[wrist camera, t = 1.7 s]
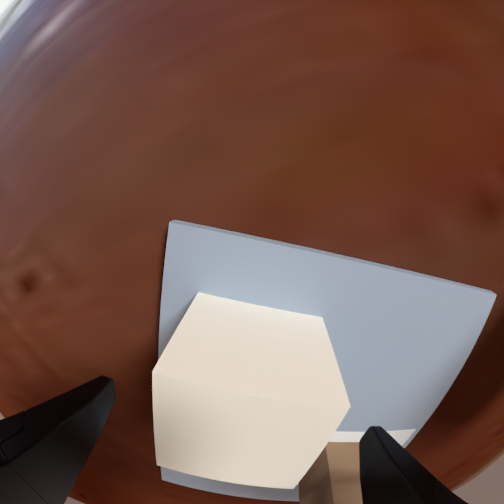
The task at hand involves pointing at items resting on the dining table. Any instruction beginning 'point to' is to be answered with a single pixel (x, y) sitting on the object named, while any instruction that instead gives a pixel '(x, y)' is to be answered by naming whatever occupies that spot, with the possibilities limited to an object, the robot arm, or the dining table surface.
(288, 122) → the dining table surface
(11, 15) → the dining table surface
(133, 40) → the dining table surface
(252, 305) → the cream block
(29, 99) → the dining table surface
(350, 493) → the walnut block
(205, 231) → the mat
